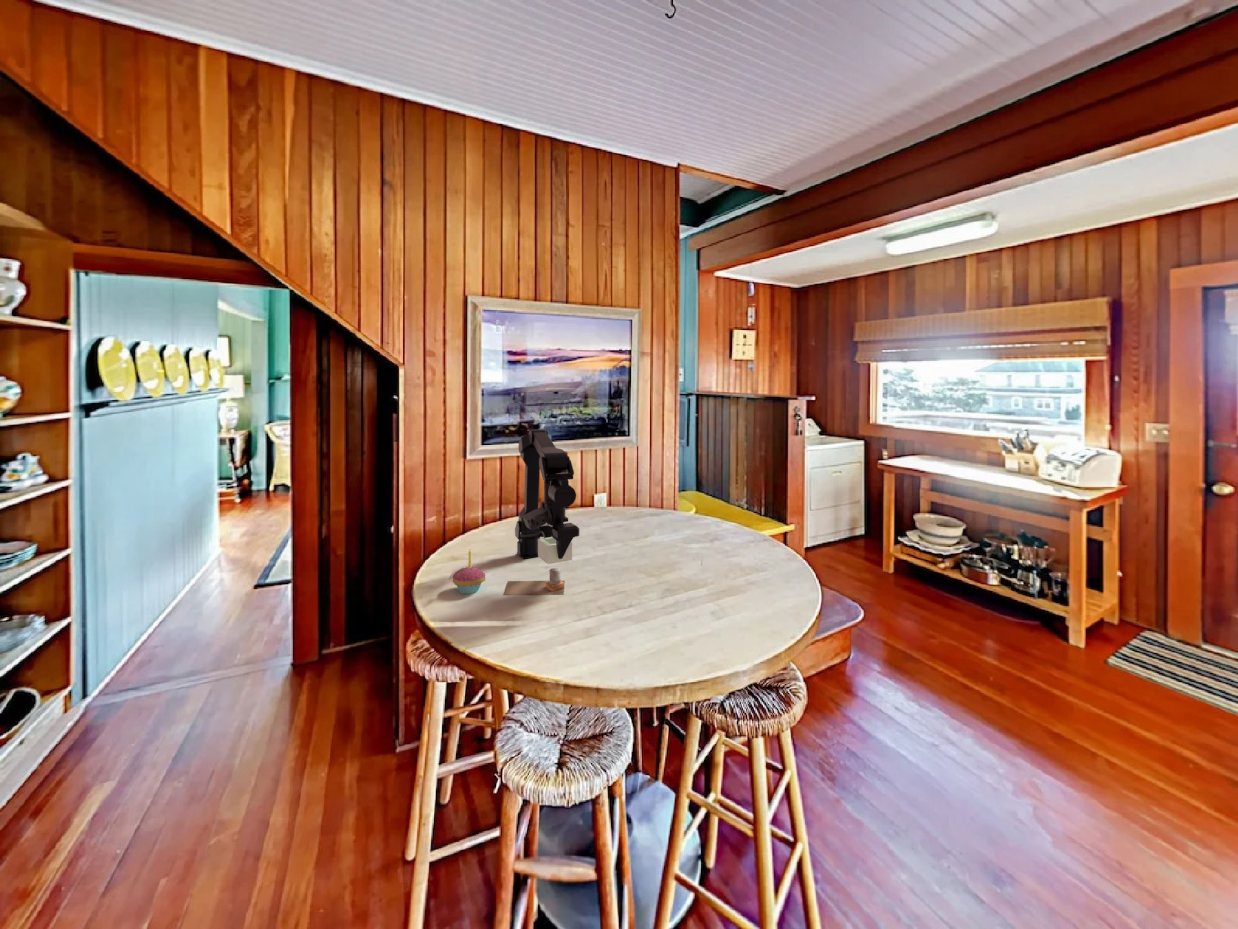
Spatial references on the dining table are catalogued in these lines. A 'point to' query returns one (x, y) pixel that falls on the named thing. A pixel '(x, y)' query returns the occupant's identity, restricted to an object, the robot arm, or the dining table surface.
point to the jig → (537, 586)
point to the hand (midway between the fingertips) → (554, 554)
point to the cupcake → (468, 578)
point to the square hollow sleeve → (552, 551)
